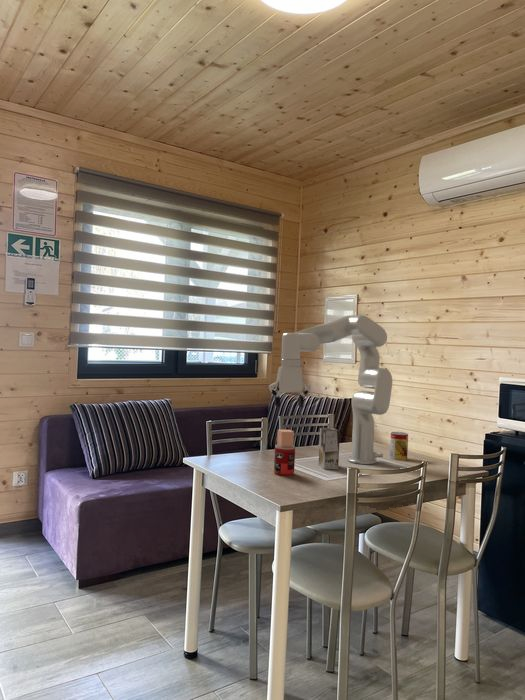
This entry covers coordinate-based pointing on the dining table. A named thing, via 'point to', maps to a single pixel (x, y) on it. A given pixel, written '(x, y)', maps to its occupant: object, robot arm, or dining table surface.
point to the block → (285, 438)
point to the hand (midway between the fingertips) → (289, 406)
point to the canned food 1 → (284, 460)
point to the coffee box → (329, 448)
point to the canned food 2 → (399, 446)
